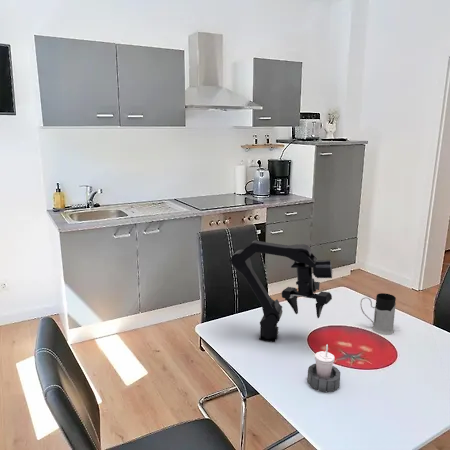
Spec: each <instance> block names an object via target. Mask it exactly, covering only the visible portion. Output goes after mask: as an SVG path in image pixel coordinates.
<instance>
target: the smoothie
mask: <svg viewBox="0 0 450 450" xmlns="http://www.w3.org/2000/svg"><path fill="white" fill-rule="evenodd" d="M328 347H329V345H328V343H327V344H326V345H325V351H317V352H316V353H315V354H314V360H315V364H316V368H317V376H318V377H320V378H325V379H329V378H330V375H331V370H332V366H334V363H335V355H334V354H332V353H331V352H329V351H328V350H329V348H328Z"/></svg>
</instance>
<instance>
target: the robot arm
mask: <svg viewBox="0 0 450 450" xmlns="http://www.w3.org/2000/svg"><path fill="white" fill-rule="evenodd" d="M256 253H259V254H260V253H261V254H265V255H266V254H267V255H273V256H278V257H279V256H280V257H283V258H288V259H290V260H291V261H294V262H293V263H292V264H291V266H290V268H291V269H295V268H296V277H297V278H296V279H297V281H295V284H296V286H297V288H296V287H293V286H287V287H286V288H285V289H283V290H282V291H281V298H283V299H284V300H285V301H287V303H288V304H289V305H290V307H291V309H292V311H293V312H294V314H296V315H298V314H299V308H298V298H299V297H300V298H309V299H313V300H315V302H316V303H315V309H316V310H315V311H316V318H317V319H319V318H320V317H321V314H322V310H323V308H324V306H325V305H327V304H328V303H330V302H331V301H332V300H333V296H332V294H331V292H329V291H320V284H321V283H320V281H315V278H316V279H333V266H332V261H331V259H325V260H324V259H323V260H318V259H317V257H316V255H314V254H313V253H312V249H311V247H310V246H309V245H308V244H304V243H301V244H298V243H297V244H291V245H290V244H289V245H287V244H280V243H274V242H266V241H260V240H256V239H255V240H253V241H252V242H251V243H250V244H249V245H246V247H244V248H243V249H238V250H236V252H235V253H234V254H233V255H232V256H231V258H230V264H231V265H232V267H234V269H236V271H237V272H239V273H240V274H241V275H242V276H243V277H244V278H245V280H246V282H247V284H248V285H249V287H250V288H251V290H252V292H253V293H254V295H255V297H256V299H257V300H258V301H259V303H260V305H261V309H262V313H263V315H262V317H261V319H260V321H259V325H260V328H259V329H260V330H259V331H260V332H259V333H260V336H259V337H258V340H260V341H265V342H271V343H275V342H276V341H277V339H278V337H279V326H278V323H279V322H280V321H281V317H282V315H283V306H282V305H281V304H280V302H279V300H278V298H277V299H275V300H274V299H273V298H272V297H271V296H270V295H269V293H268V291H267V290H266V288H265V287H264V285H263V283H262V281H261V279H260V278H259V276H258V275H257V274H256V271H255V270H254V268H253V265H252V264H253V263H252V260H251V257H252V256H253V255H255V254H256ZM313 276H314V277H315V278H313ZM317 291H320V292H319V293H315V292H317Z"/></svg>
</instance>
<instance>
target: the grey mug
mask: <svg viewBox="0 0 450 450" xmlns="http://www.w3.org/2000/svg"><path fill="white" fill-rule="evenodd" d="M364 299H368V300H369V301H370V308H372V309H374V314H373V320H372V319H371V318H370V317H369V316H368V314H366V313H365V311H364V310H363V307H362V305H360V310H361V312H362V314H363V315H364V316H365V317H366V318H367V319H369V321H370V322H372V323H371V324H372V327H371V329H372V331H373V332H375V333H377V334H379V335H384V336H387V335H388V336H389V335H393V334H394V332H395V330H394V325H395V324H394V323H395V315H396V314H395V312H396V304H397V303H396V300H397V298H396V297H395V295H393V294H390V293H377V294H376V299H375V306H373V305H372V304H373V303H372V300H371V298H370V297H367V296H365V297H364V296H363V297H362V298H361V300H360V303H362V302H363V300H364Z"/></svg>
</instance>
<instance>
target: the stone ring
mask: <svg viewBox="0 0 450 450" xmlns="http://www.w3.org/2000/svg"><path fill="white" fill-rule="evenodd" d="M307 369H308V370H307V378H306V379H307V384H308V385H309V387H310V388H312V389H314V390H316V391H318V392H320V393H321V392H322V393H331V392H335V391H337V390H339V389H340V384H341V371H340V369H338V367H336V366H334V365H333V366H332V370H331V375H330V378H329V379H325V378H320V377H318V376H317V368H316V363H313V364H311V365H309V367H308V368H307Z"/></svg>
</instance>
